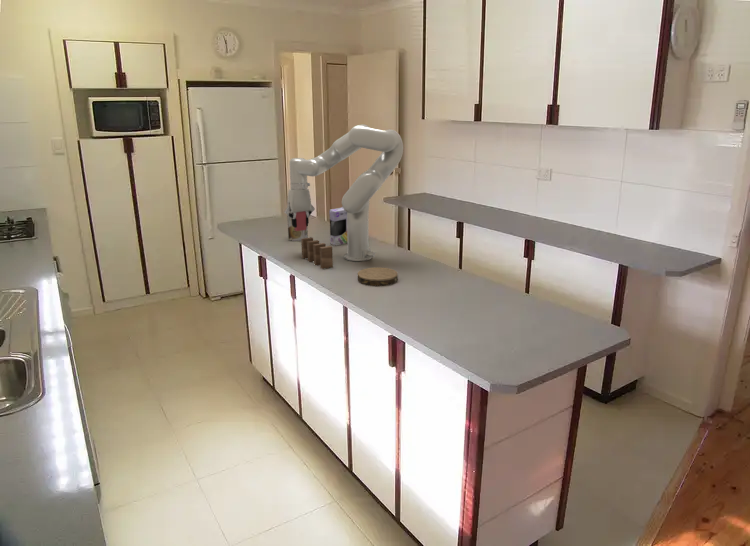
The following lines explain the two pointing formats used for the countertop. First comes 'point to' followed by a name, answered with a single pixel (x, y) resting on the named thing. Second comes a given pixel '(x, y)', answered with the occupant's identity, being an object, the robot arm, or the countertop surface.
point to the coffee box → (294, 234)
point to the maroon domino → (301, 221)
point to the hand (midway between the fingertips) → (300, 225)
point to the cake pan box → (338, 226)
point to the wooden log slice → (377, 276)
